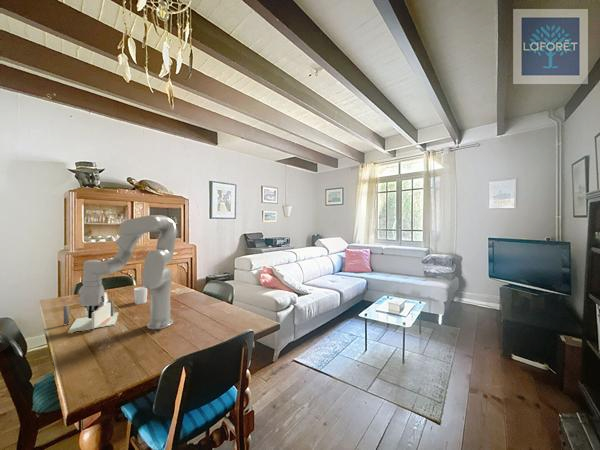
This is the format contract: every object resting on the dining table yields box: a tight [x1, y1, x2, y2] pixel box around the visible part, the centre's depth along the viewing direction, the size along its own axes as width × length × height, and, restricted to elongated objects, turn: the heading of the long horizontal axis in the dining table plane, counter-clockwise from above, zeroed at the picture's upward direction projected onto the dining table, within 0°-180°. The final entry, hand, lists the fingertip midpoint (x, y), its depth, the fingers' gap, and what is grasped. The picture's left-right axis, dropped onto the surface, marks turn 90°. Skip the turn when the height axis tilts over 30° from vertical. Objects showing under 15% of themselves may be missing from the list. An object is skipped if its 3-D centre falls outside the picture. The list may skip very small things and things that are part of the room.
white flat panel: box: [92, 302, 111, 330], centre depth 131 cm, size 16×1×8 cm, turn 14°
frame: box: [63, 299, 119, 332], centre depth 132 cm, size 19×23×10 cm
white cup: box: [133, 286, 148, 305], centre depth 166 cm, size 8×8×10 cm
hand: (92, 317), depth 129 cm, fingers closed
